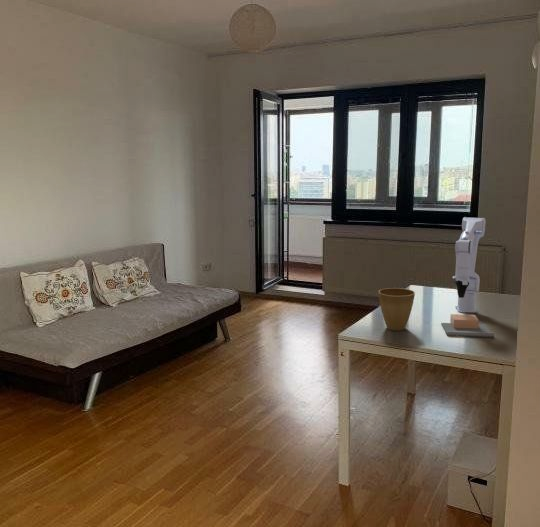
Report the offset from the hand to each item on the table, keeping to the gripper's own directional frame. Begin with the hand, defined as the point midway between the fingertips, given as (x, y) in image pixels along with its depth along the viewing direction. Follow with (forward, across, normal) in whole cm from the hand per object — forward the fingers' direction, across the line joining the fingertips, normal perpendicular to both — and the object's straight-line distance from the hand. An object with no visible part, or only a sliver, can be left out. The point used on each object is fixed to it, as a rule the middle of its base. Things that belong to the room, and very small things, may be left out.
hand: (460, 297), depth 238 cm
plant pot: (+11, +15, -29) cm, 34 cm away
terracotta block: (+8, +6, 0) cm, 10 cm away
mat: (+10, +15, 0) cm, 18 cm away
